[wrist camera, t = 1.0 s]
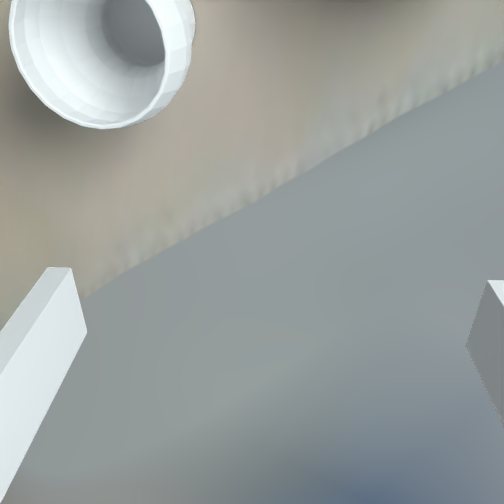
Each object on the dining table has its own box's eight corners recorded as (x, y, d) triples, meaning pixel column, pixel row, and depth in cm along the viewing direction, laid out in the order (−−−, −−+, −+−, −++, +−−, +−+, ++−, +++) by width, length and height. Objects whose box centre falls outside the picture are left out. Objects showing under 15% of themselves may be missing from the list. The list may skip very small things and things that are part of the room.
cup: (140, -87, 36) (64, -112, 24) (238, 23, 40) (216, 53, 27) (64, 19, 41) (-36, 46, 28) (158, 109, 44) (107, 170, 32)
